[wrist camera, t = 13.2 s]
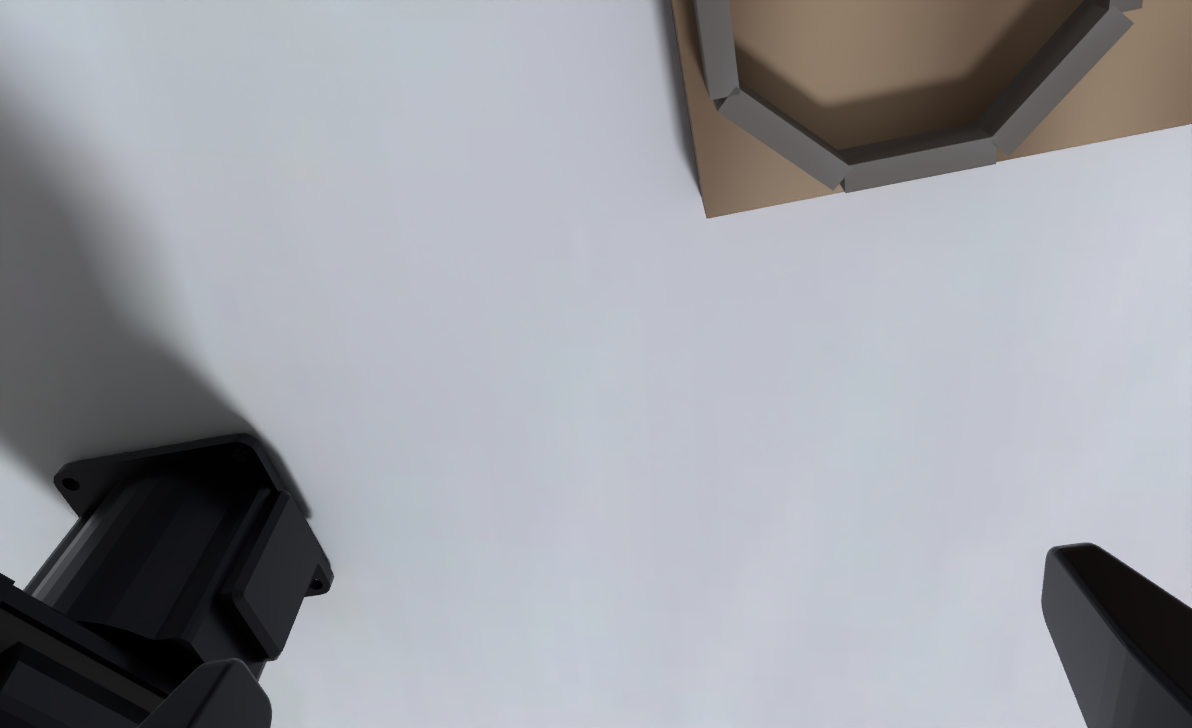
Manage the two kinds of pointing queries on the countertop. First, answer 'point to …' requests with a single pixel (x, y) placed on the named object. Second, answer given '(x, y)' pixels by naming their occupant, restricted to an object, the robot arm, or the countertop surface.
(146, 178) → the countertop surface
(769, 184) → the board
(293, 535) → the robot arm
